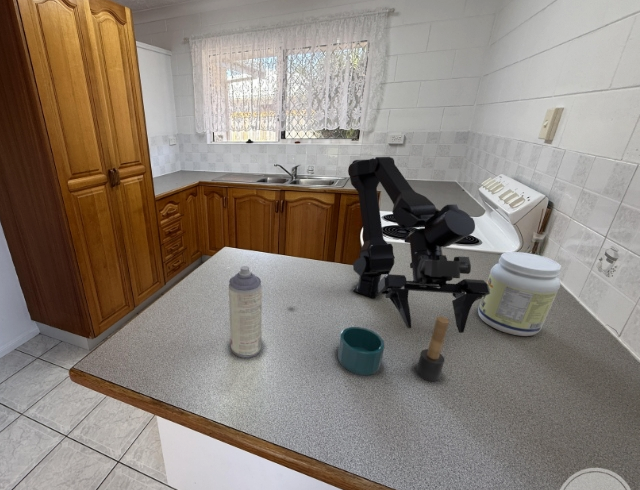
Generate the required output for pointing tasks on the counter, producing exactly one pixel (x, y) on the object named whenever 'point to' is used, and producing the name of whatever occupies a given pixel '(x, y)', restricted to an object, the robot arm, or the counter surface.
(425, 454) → the counter surface
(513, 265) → the supplement tub
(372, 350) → the teal cup
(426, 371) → the brush
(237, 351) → the aerosol can
